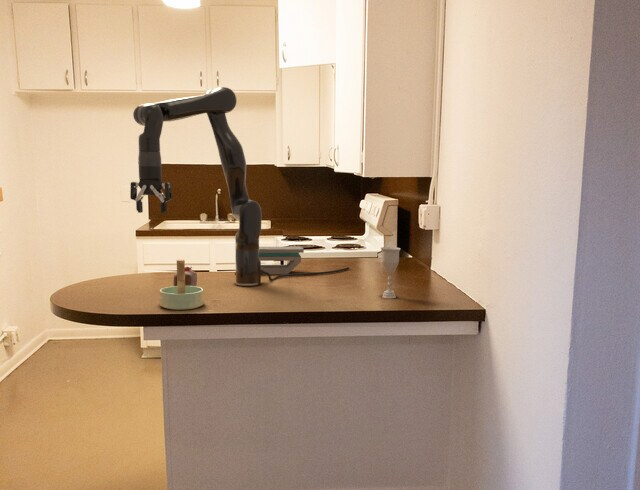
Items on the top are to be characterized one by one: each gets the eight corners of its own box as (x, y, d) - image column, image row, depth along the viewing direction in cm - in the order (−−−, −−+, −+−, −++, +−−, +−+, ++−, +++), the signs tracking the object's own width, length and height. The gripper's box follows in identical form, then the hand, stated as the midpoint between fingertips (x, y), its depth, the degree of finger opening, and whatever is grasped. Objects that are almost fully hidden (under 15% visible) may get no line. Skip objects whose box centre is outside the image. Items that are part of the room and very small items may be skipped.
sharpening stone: (245, 274, 282) (245, 249, 280) (244, 271, 290) (244, 246, 288) (303, 274, 286) (303, 249, 284) (301, 270, 293) (301, 246, 291)
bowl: (198, 300, 232) (198, 284, 231) (207, 308, 219) (207, 292, 218) (157, 302, 227) (156, 287, 226) (163, 311, 214) (163, 295, 213)
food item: (176, 289, 249) (175, 263, 248) (197, 289, 250) (197, 263, 248) (172, 296, 236) (171, 269, 234) (195, 296, 237) (194, 269, 235)
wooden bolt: (187, 301, 226) (186, 258, 223) (190, 305, 221) (189, 260, 218) (172, 302, 224) (171, 259, 221) (175, 306, 220) (174, 261, 217)
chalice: (400, 296, 245) (402, 247, 241) (396, 299, 238) (398, 250, 235) (381, 294, 247) (383, 246, 243) (376, 297, 241) (378, 248, 237)
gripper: (174, 165, 226) (175, 212, 230) (136, 164, 229) (137, 211, 232) (164, 165, 219) (166, 214, 222) (125, 164, 222) (127, 213, 225)
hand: (151, 212), depth 227 cm, fingers open, 8 cm apart
